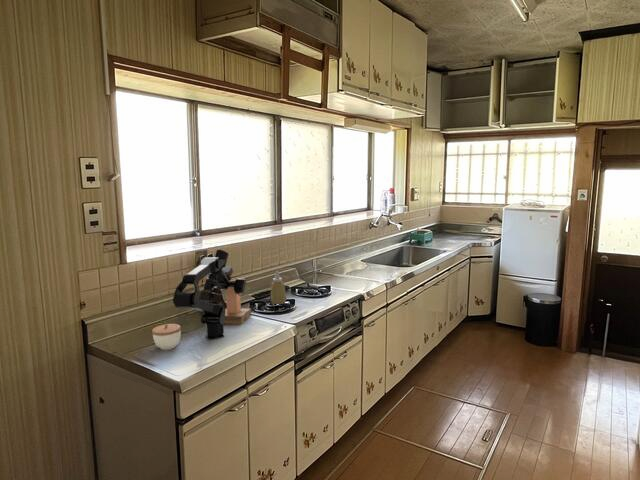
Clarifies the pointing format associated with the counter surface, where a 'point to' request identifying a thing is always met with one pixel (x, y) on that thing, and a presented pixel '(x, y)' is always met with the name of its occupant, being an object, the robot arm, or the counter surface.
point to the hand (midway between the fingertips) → (230, 294)
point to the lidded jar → (167, 335)
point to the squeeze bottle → (278, 290)
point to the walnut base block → (237, 316)
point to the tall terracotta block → (232, 301)
